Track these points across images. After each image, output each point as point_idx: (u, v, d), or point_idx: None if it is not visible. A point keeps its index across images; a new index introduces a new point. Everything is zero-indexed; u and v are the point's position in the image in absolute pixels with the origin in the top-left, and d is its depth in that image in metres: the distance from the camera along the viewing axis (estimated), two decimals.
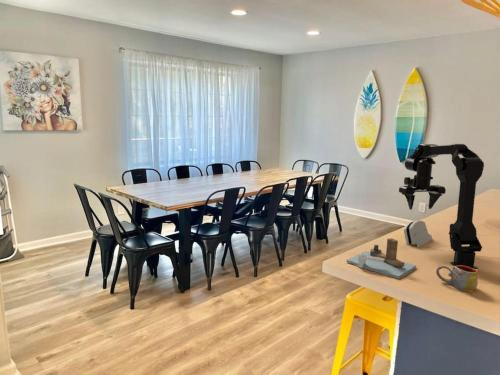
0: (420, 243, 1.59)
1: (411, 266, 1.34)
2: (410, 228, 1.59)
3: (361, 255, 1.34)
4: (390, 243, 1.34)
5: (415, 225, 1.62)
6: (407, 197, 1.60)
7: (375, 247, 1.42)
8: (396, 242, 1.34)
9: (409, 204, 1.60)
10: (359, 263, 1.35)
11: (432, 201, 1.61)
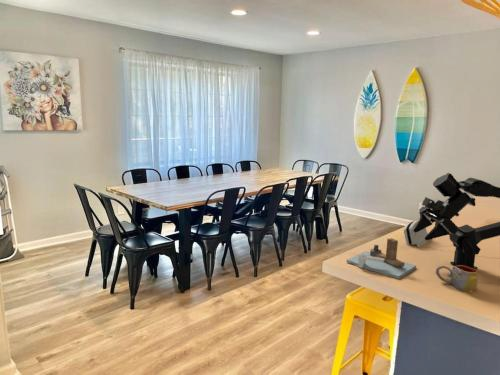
0: (420, 243, 1.59)
1: (411, 266, 1.34)
2: (410, 228, 1.59)
3: (361, 255, 1.34)
4: (390, 243, 1.34)
5: (415, 225, 1.62)
6: (437, 229, 1.29)
7: (375, 247, 1.42)
8: (396, 242, 1.34)
9: (431, 236, 1.30)
10: (359, 263, 1.35)
11: (423, 227, 1.40)
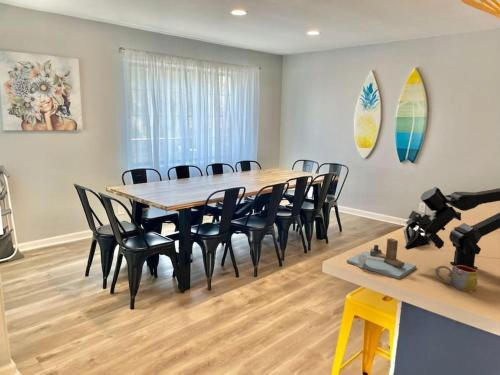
0: None
1: (411, 266, 1.34)
2: (410, 228, 1.59)
3: (361, 255, 1.34)
4: (390, 243, 1.34)
5: None
6: (417, 239, 1.33)
7: (375, 247, 1.42)
8: (396, 242, 1.34)
9: (412, 245, 1.34)
10: (359, 263, 1.35)
11: None
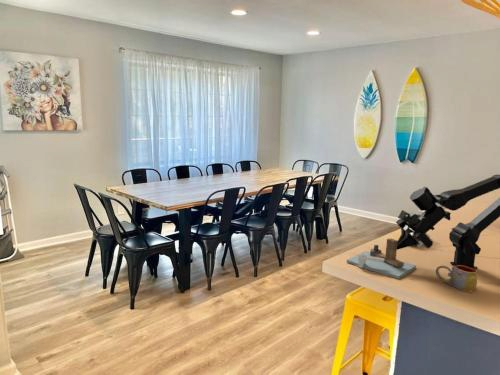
0: (419, 243, 1.59)
1: (411, 266, 1.34)
2: None
3: (361, 255, 1.34)
4: (390, 243, 1.34)
5: None
6: (407, 238, 1.33)
7: (375, 247, 1.42)
8: (396, 242, 1.34)
9: (402, 245, 1.34)
10: (359, 263, 1.35)
11: None
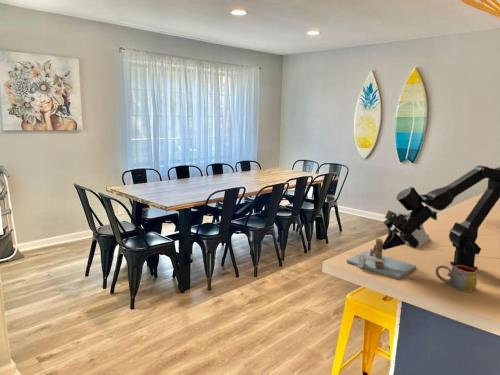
0: (419, 243, 1.59)
1: (411, 266, 1.34)
2: None
3: (361, 255, 1.34)
4: (376, 243, 1.35)
5: None
6: (394, 239, 1.33)
7: (374, 247, 1.42)
8: (381, 243, 1.33)
9: (388, 245, 1.34)
10: (359, 263, 1.35)
11: None
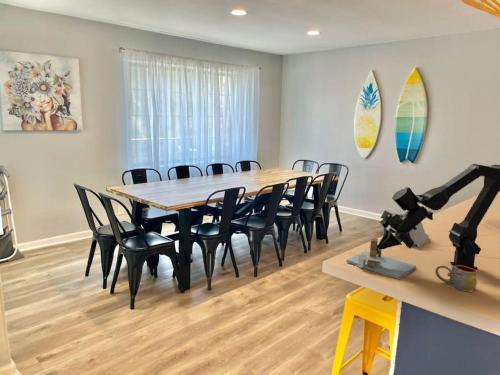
0: (419, 243, 1.59)
1: (411, 266, 1.34)
2: None
3: (361, 255, 1.34)
4: None
5: None
6: (389, 239, 1.33)
7: None
8: (374, 242, 1.33)
9: (384, 245, 1.34)
10: (359, 263, 1.35)
11: None
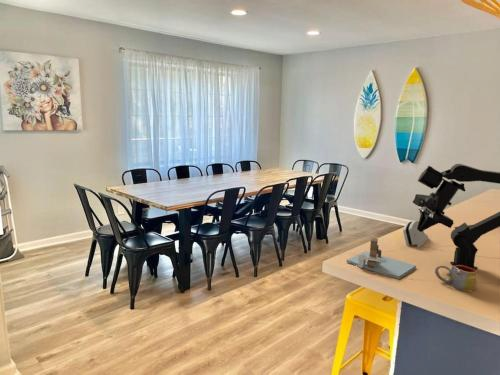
0: (419, 243, 1.58)
1: (411, 266, 1.34)
2: (410, 229, 1.59)
3: (361, 255, 1.34)
4: None
5: (414, 225, 1.61)
6: (428, 220, 1.36)
7: None
8: (374, 242, 1.33)
9: (424, 227, 1.38)
10: (359, 263, 1.35)
11: None
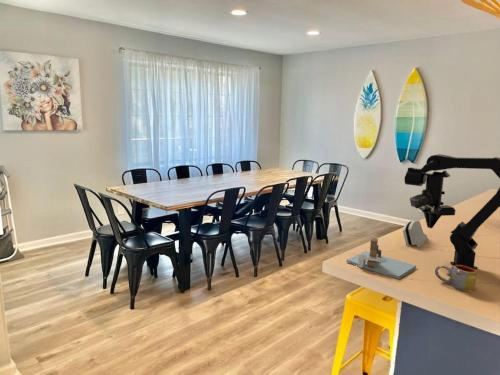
0: (419, 243, 1.58)
1: (411, 266, 1.34)
2: (409, 229, 1.58)
3: (361, 255, 1.34)
4: None
5: (413, 225, 1.61)
6: (432, 216, 1.40)
7: None
8: (374, 242, 1.33)
9: (433, 223, 1.42)
10: (359, 263, 1.35)
11: None
